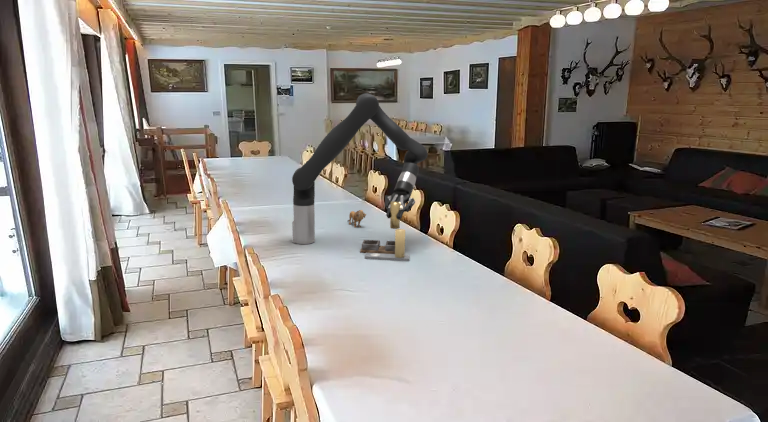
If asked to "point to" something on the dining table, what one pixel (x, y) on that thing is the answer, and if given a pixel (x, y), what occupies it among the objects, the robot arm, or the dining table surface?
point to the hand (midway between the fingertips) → (393, 217)
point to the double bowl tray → (377, 247)
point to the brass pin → (394, 215)
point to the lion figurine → (356, 217)
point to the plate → (387, 257)
